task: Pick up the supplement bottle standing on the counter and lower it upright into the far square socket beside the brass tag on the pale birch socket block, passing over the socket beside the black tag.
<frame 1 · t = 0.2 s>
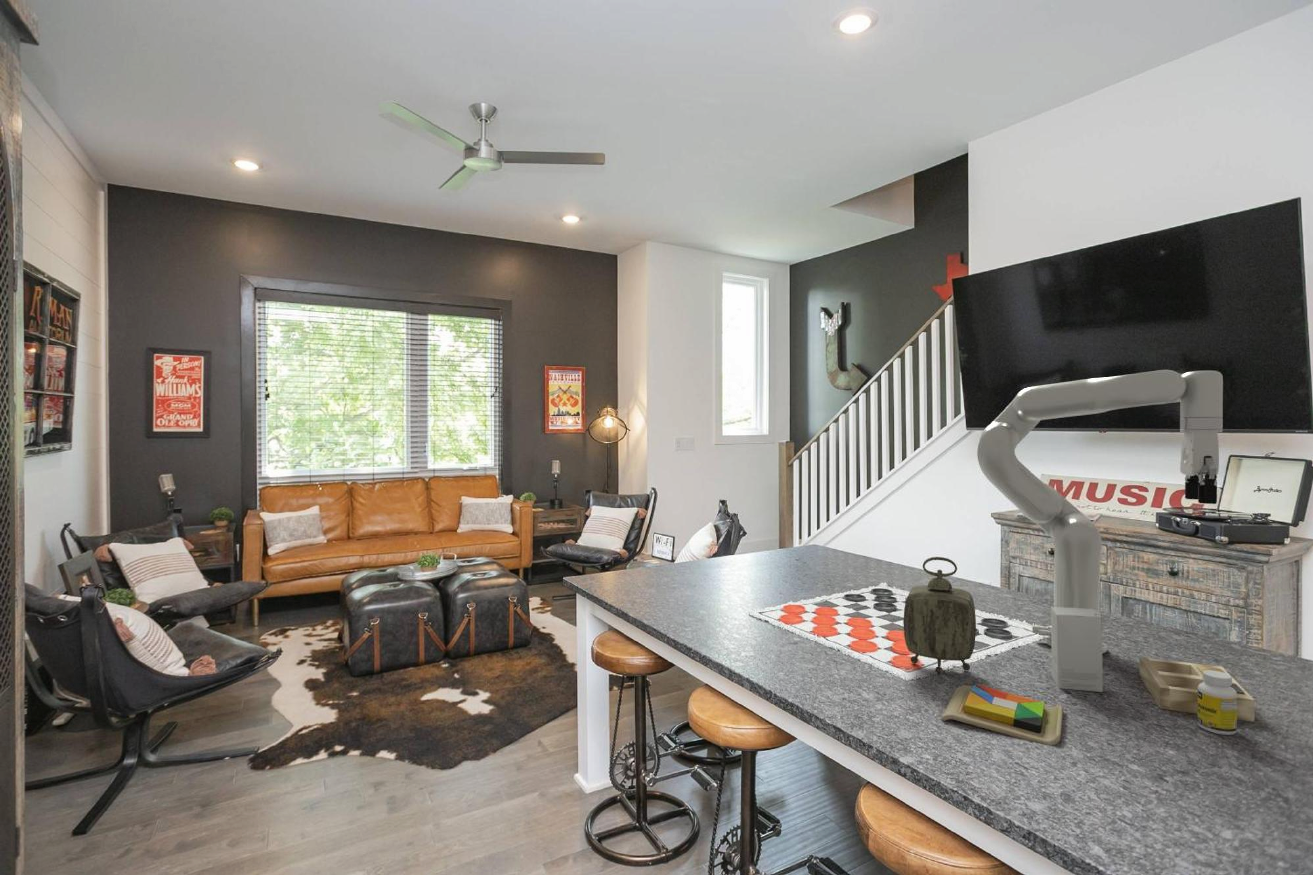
hand: (1200, 501, 155), 37 cm above the kitchen island, tool pointing down, fingers open, 9 cm apart
tabletop clock: (939, 672, 150), on the kitchen island
wooden puzzle: (1002, 720, 127), on the kitchen island
supplement bottle: (1216, 730, 121), on the kitchen island
skincare box: (1076, 686, 141), on the kitchen island
socket block: (1192, 696, 136), on the kitchen island
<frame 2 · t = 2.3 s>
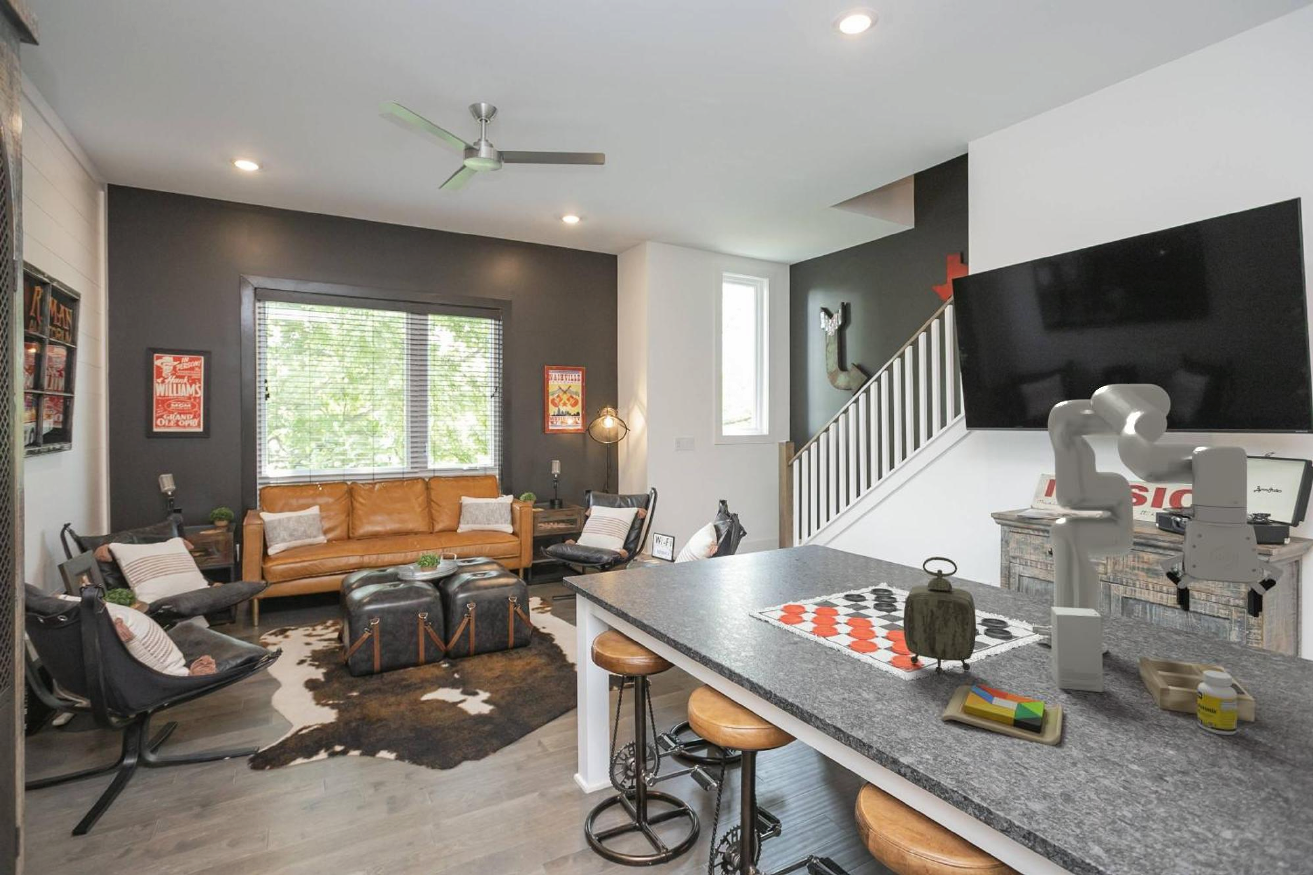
hand: (1218, 612, 121), 21 cm above the kitchen island, tool pointing down, fingers open, 9 cm apart
nothing on the kitchen island moved.
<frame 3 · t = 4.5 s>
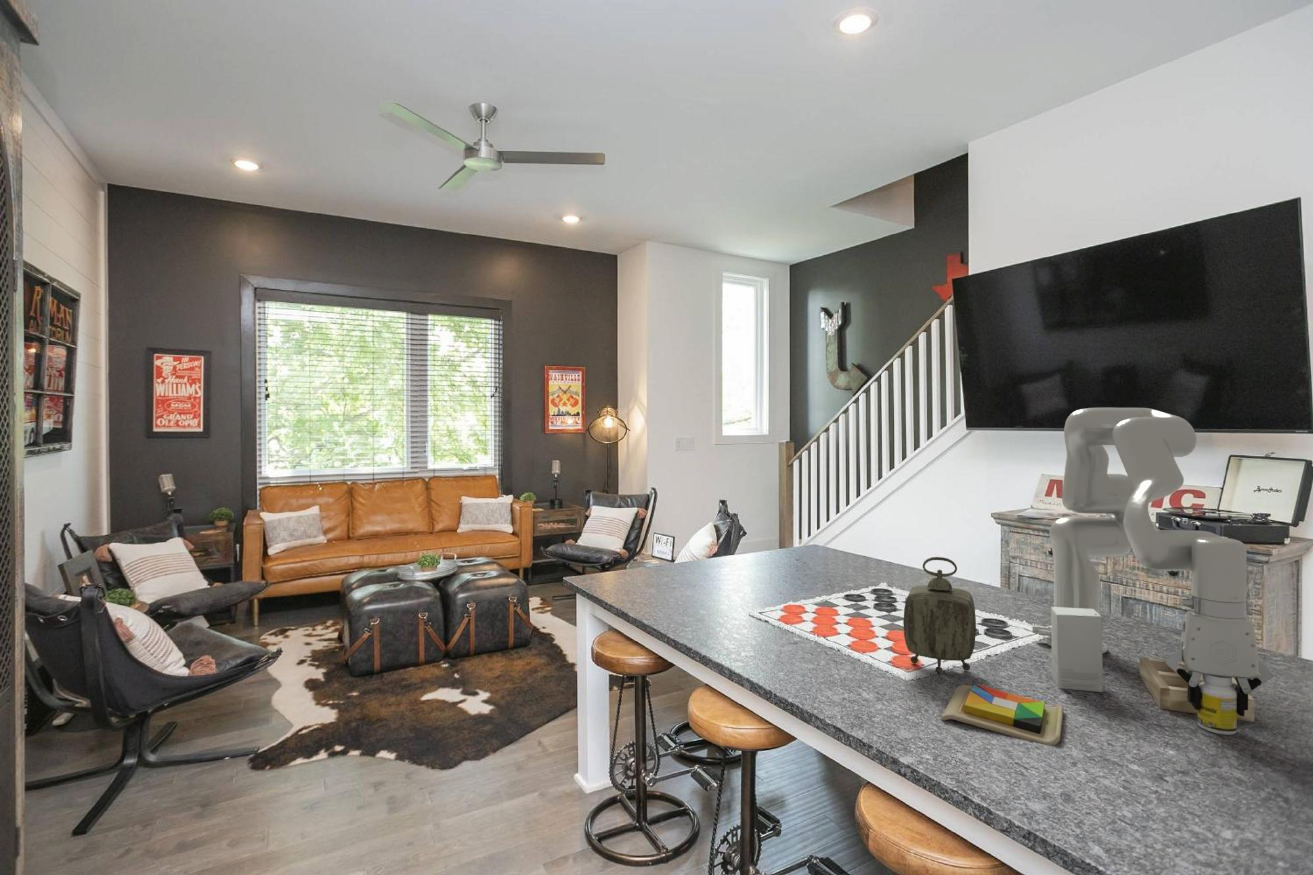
hand: (1217, 709, 121), 4 cm above the kitchen island, tool pointing down, fingers closed on supplement bottle, 5 cm apart
supplement bottle: (1216, 730, 121), on the kitchen island, touching gripper
everything else where it was.
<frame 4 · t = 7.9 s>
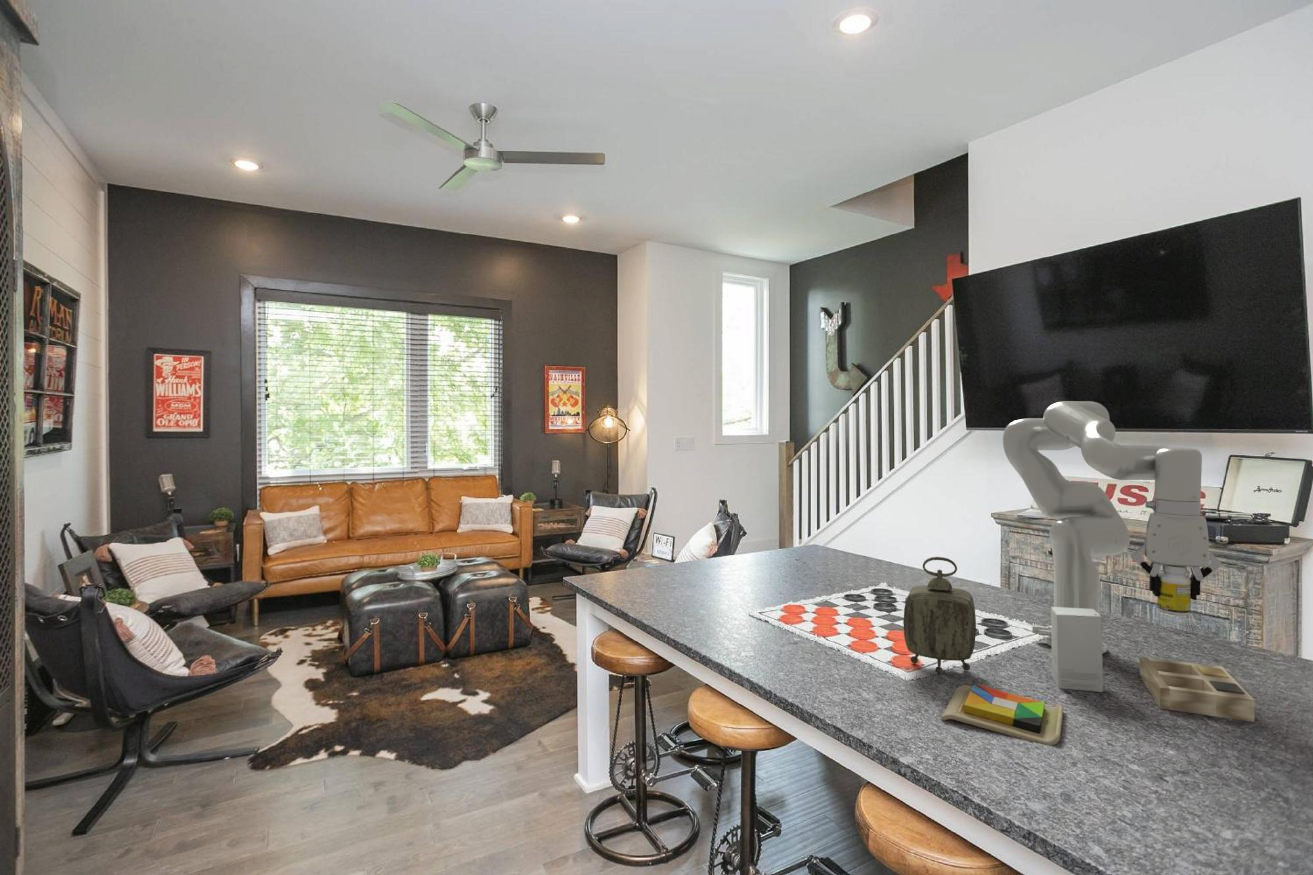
hand: (1174, 595, 140), 19 cm above the kitchen island, tool pointing down, fingers closed on supplement bottle, 5 cm apart
supplement bottle: (1173, 613, 140), point 15 cm above the kitchen island, touching gripper
everything else where it was.
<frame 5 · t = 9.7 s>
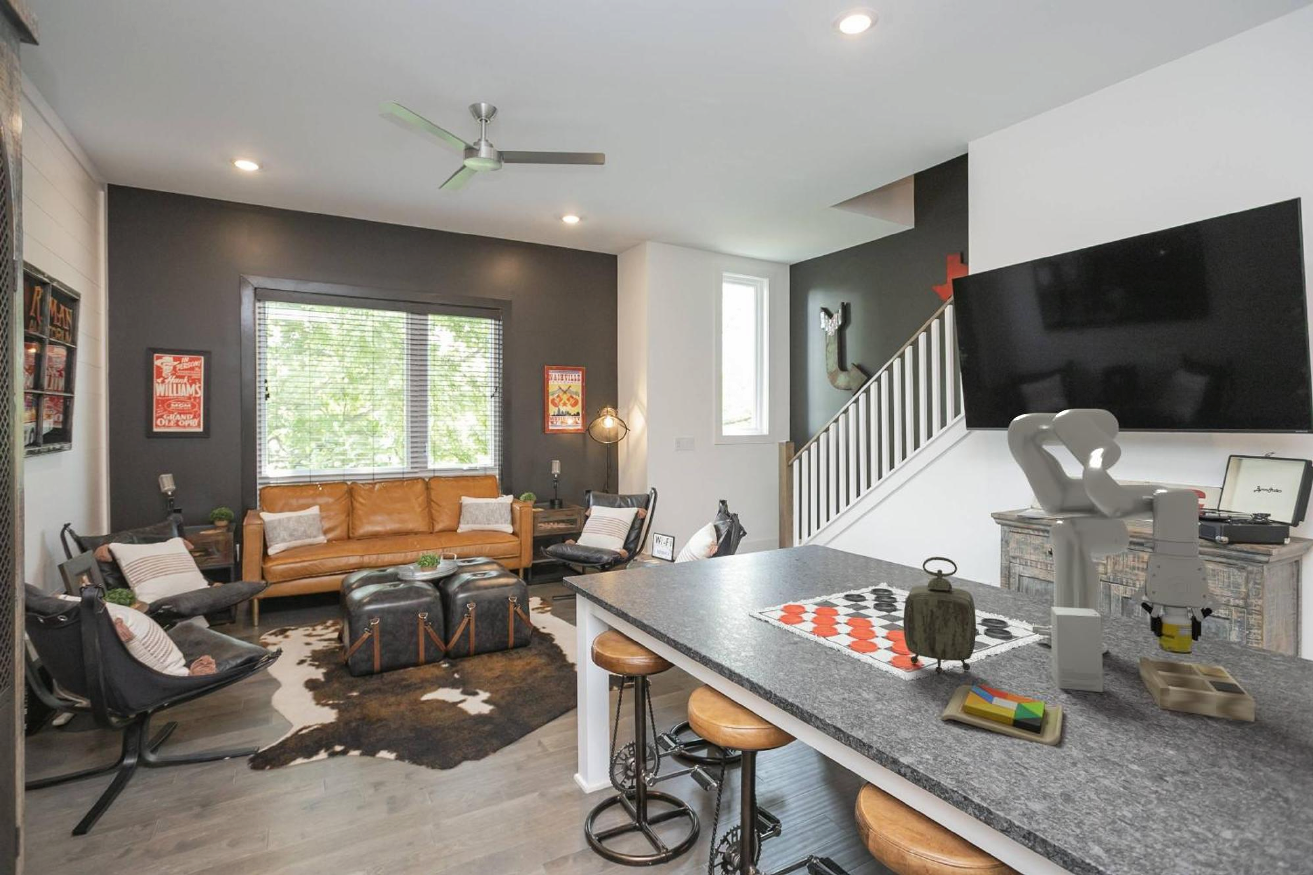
hand: (1175, 636, 140), 11 cm above the kitchen island, tool pointing down, fingers closed on supplement bottle, 5 cm apart
supplement bottle: (1175, 654, 140), point 7 cm above the kitchen island, touching gripper
everything else where it was.
when the fingers open (5 cm above the kitchen island, at t = 11.1 s): supplement bottle drops 2 cm, resting in socket block.
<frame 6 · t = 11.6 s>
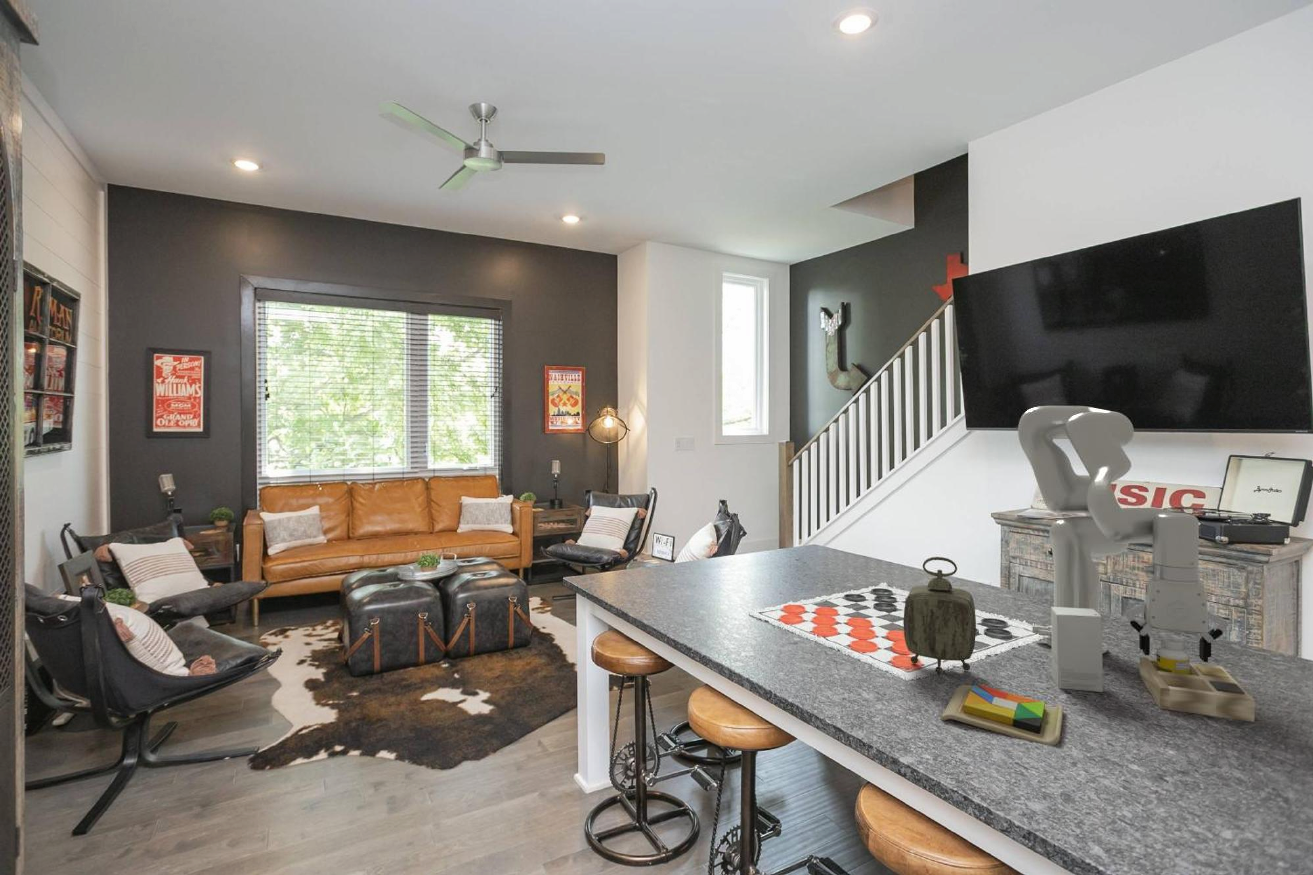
hand: (1174, 656, 140), 6 cm above the kitchen island, tool pointing down, fingers open, 9 cm apart
supplement bottle: (1172, 688, 141), resting in socket block
everything else where it was.
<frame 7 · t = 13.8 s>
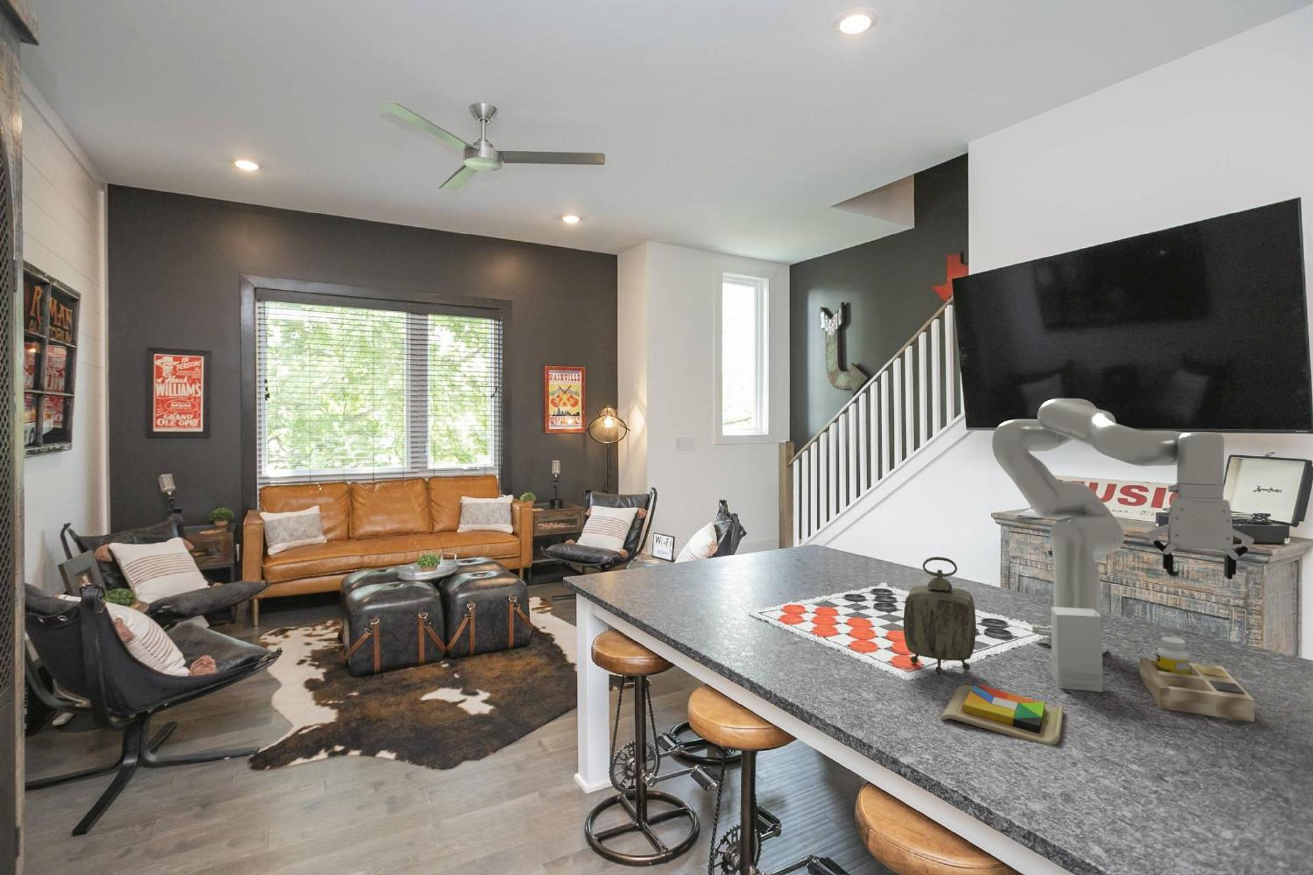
hand: (1198, 575, 141), 23 cm above the kitchen island, tool pointing down, fingers open, 9 cm apart
nothing on the kitchen island moved.
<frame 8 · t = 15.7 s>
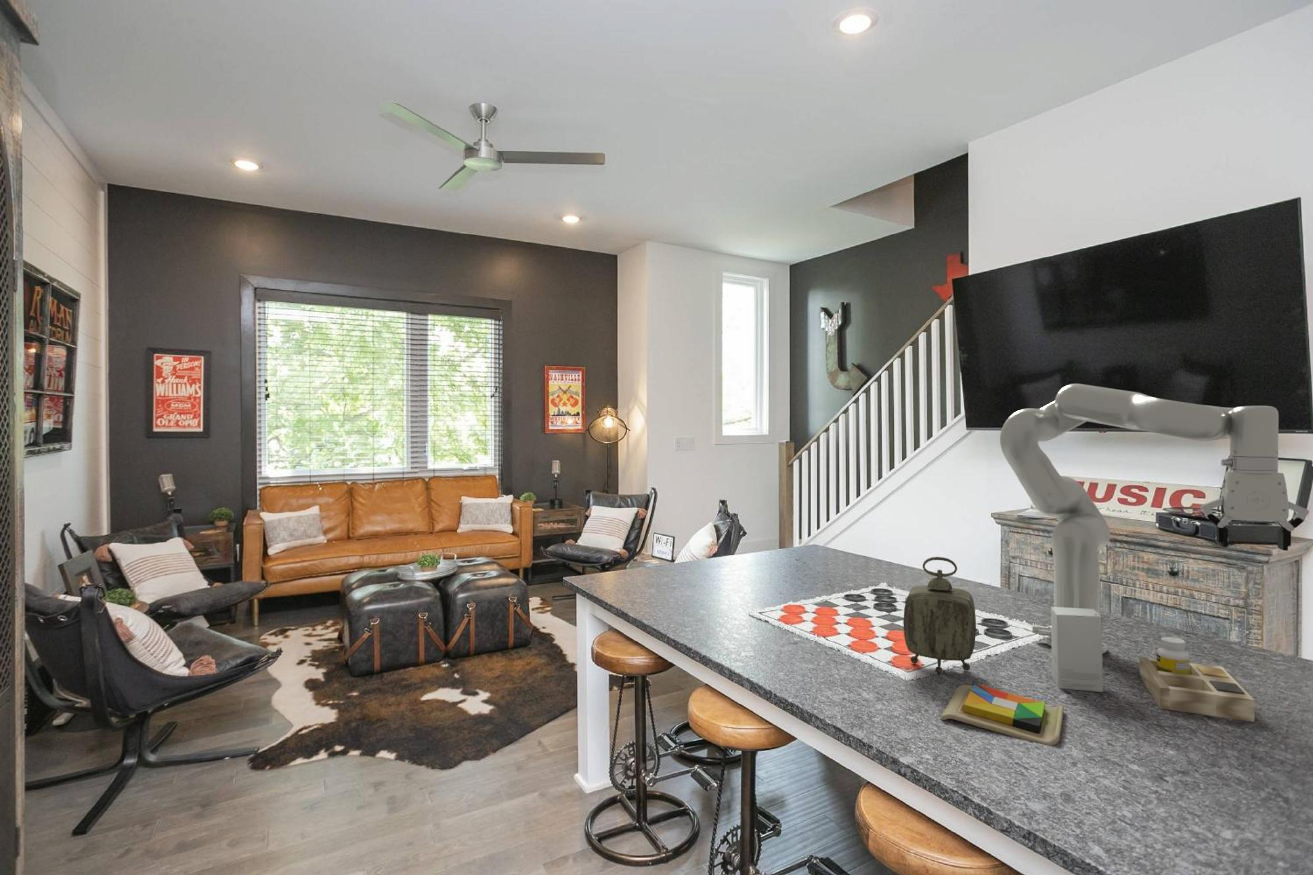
hand: (1252, 547, 142), 28 cm above the kitchen island, tool pointing down, fingers open, 9 cm apart
nothing on the kitchen island moved.
at the end: supplement bottle 0.2 cm from the target spot on the socket block, point 0.0 cm above the socket block's base; supplement bottle tilted 0°; the gripper is holding nothing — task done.
